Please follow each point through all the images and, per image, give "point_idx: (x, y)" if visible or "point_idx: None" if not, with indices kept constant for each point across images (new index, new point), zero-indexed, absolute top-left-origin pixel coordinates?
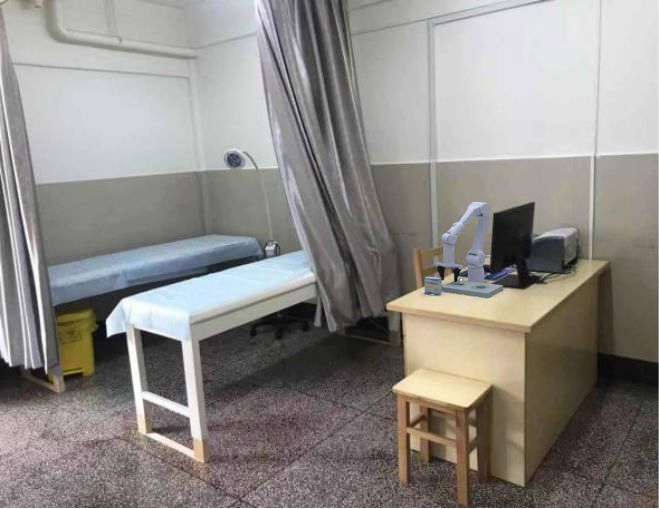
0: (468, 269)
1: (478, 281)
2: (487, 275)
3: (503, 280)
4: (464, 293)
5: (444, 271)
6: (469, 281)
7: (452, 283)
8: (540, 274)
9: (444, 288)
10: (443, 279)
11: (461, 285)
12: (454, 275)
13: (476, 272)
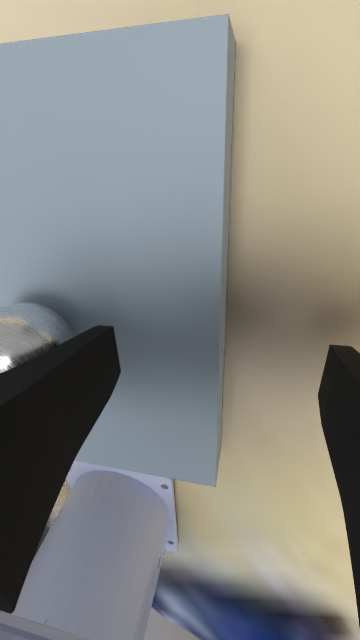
0: (102, 630)
1: (70, 492)
2: (161, 608)
3: (38, 546)
4: None
5: (351, 558)
6: (78, 454)
7: (171, 342)
8: None
9: (146, 34)
10: (324, 385)
11: (25, 296)
12: (23, 379)
13: (30, 576)
